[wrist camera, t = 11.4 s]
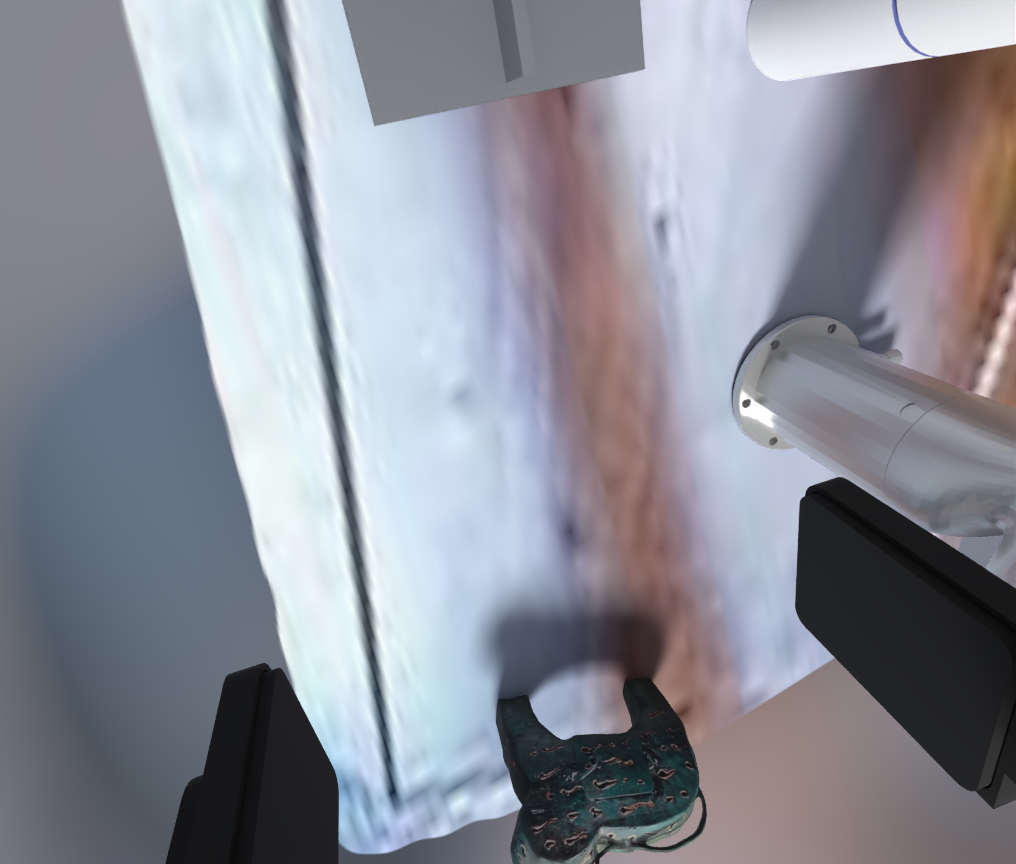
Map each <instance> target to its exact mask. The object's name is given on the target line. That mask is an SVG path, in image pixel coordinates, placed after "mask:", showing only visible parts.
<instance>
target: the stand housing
mask: <svg viewBox="0 0 1016 864" xmlns="http://www.w3.org/2000/svg"><path fill="white" fill-rule="evenodd" d="M342 3H343V6H344V10H345V14H346V18H347V22H348V26H349V29H350V33H351V37H352V41H353V45H354V49H355V53H356V56H357V60H358V64H359V68H360V72H361V76H362V79H363V83H364V87H365V91H366V95H367V99H368V103H369V106H370V110H371V114H372V118H373V122H374V126H377V125H382V124H387V123H391V122H396V121H401V120H406V119H411V118H415V117H420V116H425V115H430V114H435V113H439V112H444V111H449V110H454V109H459V108H463V107H468V106H473V105H478V104H482V103H487V102H492V101H497V100H502V99H506V98H511V97H516V96H521V95H526V94H530V93H535V92H540V91H545V90H550V89H554V88H559V87H564V86H569V85H573V84H578V83H583V82H588V81H593V80H597V79H602V78H607V77H612V76H617V75H621V74H626V73H631V72H636V71H639V70H643V69H645V64H644V50H643V36H642V22H641V8H640V0H342Z"/></svg>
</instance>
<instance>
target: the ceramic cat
mask: <svg viewBox="0 0 1016 864" xmlns="http://www.w3.org/2000/svg"><path fill="white" fill-rule="evenodd" d="M623 697H624V700H625V703H626V705H627V708H628V711H629V714H630V717H631V722H632V727H631V728H630V729H629V730H628V731H627V732H625V733H620V734H588V735H575V736H573V737H571V738H570V739H567V740H561V739H560V738H558V737H556V736H555V735H553V734H552V733H551V732H550V731H549V730H547V729H546V728H545V727H544V726H543V725H542V724H541V723H540V722H539V721H538V719H537V717H536V716H535V714H534V713H533V710H532V708H531V704H530V701H529V698H528V697H527V695H526V696H521V697H518V698H515V699H508V700H499V702H498V707H497V719H496V725H497V728H498V732H499V736H500V740H501V744H502V749H503V758H504V762H505V764H506V766H507V768H508V769H509V772H510V777H511V781H512V785H513V789H514V792H515V794H516V795H517V797H518V799H519V801H520V802H521V803H522V807H521V809H520V811H519V814H518V818H517V822H516V827H515V830H514V834H513V838H512V842H511V857H512V862H513V864H594V862H595V864H599V860H600V858H601V857H602V856H603V855H604V854H605V853H607V852H609V851H610V852H619V853H623V852H624V853H627V852H633V851H637V850H645V851H650V852H666V853H667V852H672V851H674V850H677V849H679V848H682V847H685V846H686V845H688V844H689V843H691V842H693V841H694V840H695V839H696V838H698V837H699V836H700V835H701V834H702V831H703V829H704V827H705V823H706V816H707V813H706V803H705V799H704V796H703V794H702V791H701V790H700V788H699V771H698V767H697V763H696V759H695V755H694V752H693V749H692V747H691V745H690V743H689V741H688V738H687V735H686V731H685V728H684V725H683V723H682V721H681V720H680V718H679V717H678V715H677V714H676V713H675V711H674V710H673V709H672V707H671V706H670V704H669V703H668V701H667V700H666V699H665V697H664V696H663V695H662V693H661V692H660V691H659V690H658V688H657V687H656V685H655V684H654V683H653V682H652V681H651V679H648V678H644V679H634V680H630V681H627V682H625V686H624V691H623ZM697 797H700V798H701V801H702V807H703V812H702V817H701V820H700V823H699V826H698V828H697V830H696V831H695V832H694V834H692V835H691V836H689V837H688V838H686V839H684V840H682V841H680V842H679V843H677V844H675V845H672V846H668V847H651V846H649V845H651V844H653V843H655V842H657V841H658V840H660V839H664V838H667V837H669V836H671V835H673V834H675V833H677V832H678V831H679V830H680V829H681V827H682V826H683V825H684V823H685V822H686V821H687V820H688V818H689V817H690V815H691V813H692V810H693V806H694V801H695V799H696V798H697ZM598 852H600V853H598Z"/></svg>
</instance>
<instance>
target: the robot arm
mask: <svg viewBox="0 0 1016 864" xmlns="http://www.w3.org/2000/svg"><path fill="white" fill-rule="evenodd" d="M902 360H903V357H902V354H901V352H900V351H899V350H897V349H893V350H890V351H886V352H883V353H881V354H877V353H874V352H872V351H869V350H866V349H864V348H861V347H860V344H859V342H858V340H857V338H856V336H855V334H854V333H853V332H852V331H851V330H850V329H849V328H848V327H847V326H846V325H844V324H843V323H841V322H839V321H838V320H835V319H832V318H829V317H826V316H819V315H807V316H801V317H797V318H794V319H791V320H789V321H787V322H784V323H782V324H780V325H779V326H777V327H776V328H774V329H773V330H771V331H770V332H769V333H767V334H766V335H765V336H764V337H763V338H762V339H761V340H760V341H759V342H758V343H757V344H756V345H755V346H754V348H753V349H752V350H751V351H750V353H749V354H748V355H747V357H746V359H745V361H744V362H743V364H742V366H741V368H740V370H739V373H738V376H737V378H736V381H735V386H734V391H733V410H734V416H735V418H736V421H737V423H738V426H739V427H740V429H741V430H742V431H743V433H744V434H745V435H746V436H748V437H749V438H750V439H751V440H753V441H754V442H756V443H758V444H759V445H761V446H763V447H766V448H769V449H778V450H784V449H792V448H797V449H798V450H800V451H801V452H803V453H804V454H806V455H807V456H809V457H811V458H812V459H814V460H815V461H817V462H818V463H820V464H821V465H823V466H824V467H826V468H827V469H829V470H830V471H832V472H834V473H835V474H837V475H838V476H840V477H837V478H834V479H831V480H828V481H825V482H822V483H819V484H816V485H813V486H810V487H809V488H808V489H807V490H806V494H805V497H803V498H802V499H801V500H800V509H799V532H798V554H797V577H796V599H795V608H796V612H797V615H798V617H799V619H800V621H801V622H802V624H803V625H804V626H805V627H806V628H807V629H808V630H809V631H810V632H811V633H812V634H813V636H814V637H815V638H816V639H817V640H818V641H819V642H820V643H821V644H822V645H823V646H824V647H825V648H826V649H827V650H828V651H829V652H830V653H831V654H832V655H833V656H834V657H835V658H836V659H837V660H838V661H839V662H840V663H841V664H842V665H843V666H844V667H845V668H846V669H847V670H848V671H849V672H850V673H851V674H852V676H854V678H855V679H856V680H857V681H858V682H859V683H860V684H861V685H862V686H863V687H864V688H865V689H866V690H867V691H868V692H869V693H870V694H871V695H872V696H873V697H874V698H875V699H876V700H877V701H878V702H879V703H880V704H881V705H882V706H883V707H884V708H885V709H886V710H887V711H888V713H889V714H890V715H892V716H893V718H894V719H895V720H896V721H897V722H898V723H899V724H900V725H901V726H902V727H903V728H904V729H905V730H906V731H907V732H908V733H909V734H910V735H911V736H912V737H913V738H914V739H915V740H916V741H917V742H918V743H919V744H920V745H921V746H922V747H923V748H924V749H925V750H926V751H927V753H928V754H929V755H930V756H931V757H932V758H933V759H934V760H935V761H936V762H937V763H938V764H939V765H940V766H941V767H942V768H943V769H944V770H945V771H946V772H947V773H948V774H949V775H950V776H951V777H952V778H953V779H954V780H955V781H956V782H957V783H958V784H959V785H960V786H962V787H963V788H965V789H967V790H969V791H976V792H977V793H978V794H979V795H980V796H981V797H982V798H983V799H984V800H985V801H986V802H987V803H988V804H989V805H990V806H991V807H992V808H993V809H995V808H998V807H1000V806H1002V805H1005V804H1007V803H1009V802H1012V801H1014V800H1016V408H1013V407H1010V406H1008V405H1005V404H1002V403H1000V402H997V401H994V400H992V399H989V398H986V397H984V396H980V395H978V394H975V393H972V392H970V391H967V390H964V389H962V388H959V387H957V386H954V385H951V384H949V383H946V382H944V381H941V380H938V379H936V378H933V377H930V376H928V375H925V374H923V373H920V372H917V371H915V370H912V369H910V368H907V367H904V366H902V365H899V364H900V363H901V362H902ZM928 531H929V532H928ZM930 532H932V533H936V534H940V535H945V536H952V537H988V536H989V537H990V536H1001V535H1003V538H1002V541H1001V543H1000V544H999V546H998V548H997V549H996V551H995V552H994V554H993V556H992V557H991V560H990V562H989V563H988V565H987V566H986V568H983V567H982V566H981V565H979V564H977V563H976V562H974V561H973V560H971V559H970V558H968V557H967V556H965V555H964V554H962V553H960V552H959V551H957V550H956V549H954V548H953V547H951V546H950V545H948V544H947V543H945V542H944V541H942V540H940V539H939V538H937V537H936V536H934V535H933V534H931V533H930ZM338 824H339V791H338V782H337V777H336V773H335V770H334V768H333V766H332V764H331V762H330V760H329V758H328V756H327V754H326V752H325V751H324V749H323V747H322V745H321V743H320V741H319V739H318V737H317V735H316V733H315V731H314V729H313V727H312V725H311V723H310V722H309V720H308V718H307V716H306V714H305V712H304V710H303V708H302V706H301V704H300V702H299V700H298V698H297V696H296V694H295V693H294V691H293V689H292V687H291V685H290V683H289V681H288V679H287V677H286V675H285V673H284V672H283V670H282V669H281V668H277V669H274V670H271V668H270V667H269V665H267V664H266V663H262V664H259V665H256V666H253V667H250V668H247V669H244V670H240V671H237V672H234V673H232V674H228V676H227V677H226V678H225V681H224V684H223V688H222V693H221V697H220V702H219V706H218V711H217V715H216V720H215V724H214V729H213V733H212V738H211V742H210V746H209V751H208V755H207V760H206V765H205V769H204V774H203V775H201V776H199V777H196V778H194V779H192V780H191V781H190V782H189V783H188V785H187V786H186V788H185V791H184V794H183V796H182V800H181V804H180V807H179V812H178V815H177V820H176V824H175V827H174V832H173V836H172V840H171V844H170V848H169V852H168V856H167V860H166V864H338Z"/></svg>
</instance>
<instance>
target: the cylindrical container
mask: <svg viewBox="0 0 1016 864" xmlns="http://www.w3.org/2000/svg"><path fill="white" fill-rule="evenodd" d="M747 42H748V48H749V51H750V54H751V57H752V59H753V61H754V63H755V65H756V66H757V67H758V68H759V70H760V71H761V72H762V73H763V74H765V75H766V76H768V77H769V78H772V79H774V80H778V81H789V80H795V79H801V78H807V77H814V76H820V75H826V74H832V73H838V72H845V71H851V70H857V69H863V68H870V67H876V66H882V65H889V64H895V63H901V62H907V61H914V60H920V59H926V58H933V57H939V56H945V55H951V54H958V53H964V52H970V51H976V50H982V49H989V48H995V47H1001V46H1007V45H1014V44H1016V0H752V3H751V6H750V10H749V14H748V20H747Z"/></svg>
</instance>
